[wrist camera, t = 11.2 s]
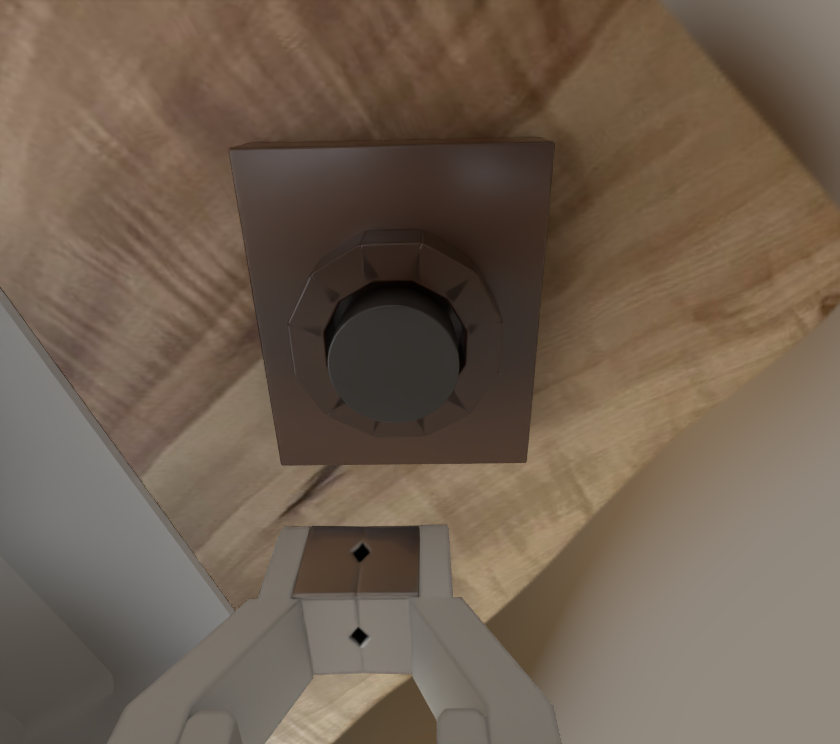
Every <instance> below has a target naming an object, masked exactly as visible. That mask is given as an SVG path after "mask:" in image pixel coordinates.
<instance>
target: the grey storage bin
mask: <svg viewBox="0 0 840 744" xmlns="http://www.w3.org/2000/svg"><path fill="white" fill-rule="evenodd" d="M234 612H235V610H234V609H233V608H232V606H231V605H230V604H229V602H228V601H227V599H226V598H225V597H224V595H223V594H222V593H221V591H220V590H219V588H218V587H217V586H216V584H215V583H214V581H213V580H212V579H211V577H210V576H209V575H208V573H207V572H206V570H205V569H204V568H203V566H202V565H201V564H200V562H199V561H198V559H197V558H196V557H195V555H194V554H193V553H192V551H191V550H190V548H189V547H188V546H187V544H186V543H185V542H184V540H183V539H182V537H181V536H180V535H179V533H178V532H177V531H176V529H175V528H174V526H173V525H172V524H171V522H170V521H169V520H168V518H167V517H166V515H165V514H164V513H163V511H162V510H161V509H160V507H159V506H158V504H157V503H156V502H155V500H154V499H153V498H152V496H151V495H150V493H149V492H148V491H147V489H146V488H145V487H144V485H143V484H142V482H141V481H140V480H139V478H138V477H137V476H136V474H135V473H134V471H133V470H132V469H131V467H130V466H129V465H128V463H127V462H126V460H125V459H124V458H123V456H122V455H121V454H120V452H119V451H118V449H117V448H116V447H115V445H114V444H113V443H112V441H111V440H110V438H109V437H108V436H107V434H106V433H105V431H104V430H103V429H102V427H101V426H100V425H99V423H98V422H97V420H96V419H95V418H94V416H93V415H92V414H91V412H90V411H89V409H88V408H87V407H86V405H85V404H84V403H83V401H82V400H81V398H80V397H79V396H78V394H77V393H76V392H75V390H74V389H73V387H72V386H71V385H70V383H69V382H68V381H67V379H66V378H65V376H64V375H63V374H62V372H61V371H60V370H59V368H58V367H57V365H56V364H55V363H54V361H53V360H52V359H51V357H50V356H49V354H48V353H47V352H46V350H45V349H44V348H43V346H42V345H41V343H40V342H39V341H38V339H37V338H36V337H35V335H34V334H33V332H32V331H31V330H30V328H29V327H28V326H27V324H26V323H25V321H24V320H23V319H22V317H21V316H20V315H19V313H18V312H17V310H16V309H15V308H14V306H13V305H12V304H11V302H10V301H9V299H8V298H7V297H6V295H5V294H4V293H3V291H2V290H1V288H0V744H107V742H108V740H109V738H110V736H111V734H112V732H113V730H114V728H115V726H116V724H117V722H118V720H119V718H120V716H121V714H122V712H123V710H124V708H125V707H126V706H127V705H128V704H129V703H130V702H132V701H133V700H134V699H135V698H136V697H137V696H138V695H140V694H141V693H142V692H143V691H144V690H145V689H146V688H148V687H149V686H150V685H151V684H152V683H153V682H154V681H156V680H157V679H158V678H159V677H160V676H161V675H162V674H164V673H165V672H166V671H167V670H168V669H169V668H171V667H172V666H173V665H174V664H175V663H176V662H177V661H179V660H180V659H181V658H182V657H183V656H184V655H185V654H187V653H188V652H189V651H190V650H191V649H192V648H193V647H195V646H196V645H197V644H198V643H199V642H200V641H201V640H203V639H204V638H205V637H206V636H207V635H208V634H209V633H211V632H212V631H213V630H214V629H215V628H216V627H217V626H219V625H220V624H221V623H222V622H223V621H224V620H226V619H227V618H228V617H229V616H230V615H231V614H232V613H234Z"/></svg>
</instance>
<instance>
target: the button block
mask: <svg viewBox="0 0 840 744" xmlns="http://www.w3.org/2000/svg"><path fill="white" fill-rule="evenodd" d="M554 148H555V143H554V142H553V141H550V140H547V139H544V138H541V137H514V138H463V139H412V140H362V141H311V142H260V143H247V144H243V145H239V146H235V147H231V148H229V157H230V163H231V169H232V175H233V181H234V187H235V193H236V199H237V204H238V210H239V216H240V222H241V228H242V234H243V240H244V246H245V252H246V258H247V264H248V270H249V276H250V282H251V288H252V294H253V300H254V306H255V312H256V318H257V324H258V330H259V335H260V341H261V347H262V353H263V359H264V365H265V371H266V377H267V383H268V389H269V395H270V401H271V407H272V413H273V419H274V425H275V431H276V437H277V443H278V449H279V455H280V461H281V465H283V466H285V465H378V464H472V463H526V461H527V453H528V442H529V431H530V419H531V408H532V397H533V386H534V374H535V363H536V352H537V340H538V329H539V318H540V306H541V295H542V284H543V272H544V261H545V250H546V239H547V227H548V216H549V205H550V193H551V182H552V171H553V159H554ZM393 286H394V287H406V288H411V289H414V290H417V291H420V292H422V293H424V294H426V295H428V296H429V297H431V298H433V299H434V300H435V301H436V302H437V303H439V304H440V305H441V306H442V308H443V309H444V310H445V311H446V313H447V314H448V315H449V317H450V319H451V321H452V323H453V326H454V329H455V333H456V339H457V346H458V354H459V375H458V379H457V382H456V385H455V388H454V389H453V391H452V393H451V395H450V396H449V397H448V399H447V400H446V401H445V402H444V403H443V404H442V405H441V406H440V407H439V408H438V409H436V410H435V411H434V412H432V413H430V414H429V415H427V416H425V417H422V418H420V419H417V420H414V421H409V422H404V423H387V422H380V421H376V420H373V419H370V418H367V417H365V416H363V415H361V414H359V413H357V412H356V411H354V410H353V409H352V408H350V407H349V406H348V405H347V404H346V403H345V402H344V401H343V400H342V399H341V398H340V397H339V395H338V394H337V392H336V391H335V389H334V387H333V385H332V383H331V380H330V377H329V372H328V363H327V359H328V351H329V348H330V344H331V341H332V339H333V336H334V334H335V331H336V328H337V326H338V323H339V321H340V319H341V317H342V315H343V313H344V312H345V310H346V309H347V308H348V307H349V305H350V304H351V303H353V302H354V301H355V300H356V299H357V298H359V297H360V296H362V295H363V294H365V293H367V292H369V291H372V290H375V289H379V288H383V287H393Z"/></svg>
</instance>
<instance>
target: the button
mask: <svg viewBox="0 0 840 744" xmlns="http://www.w3.org/2000/svg"><path fill="white" fill-rule="evenodd" d="M327 363H328V372H329V377H330V380H331V383H332V385H333V387H334V389H335V391H336V392H337V394H338V395H339V397H340V398H341V399H342V400H343V401H344V402H345V403H346V404H347V405H348V406H349V407H350V408H352V409H353V410H354V411H356V412H357V413H359V414H361V415H363V416H365V417H367V418H370V419H373V420H376V421H380V422H387V423H404V422H409V421H414V420H417V419H420V418H422V417H425V416H427V415H429V414H430V413H432V412H434V411H435V410H436V409H438V408H439V407H440V406H441V405H442V404H443V403H444V402H445V401H446V400H447V399H448V397H449V396H450V395H451V393H452V391H453V389H454V388H455V385H456V382H457V379H458V375H459V354H458V346H457V339H456V333H455V329H454V326H453V323H452V321H451V319H450V317H449V315H448V314H447V313H446V311H445V310H444V309H443V308H442V306H441V305H440V304H439V303H437V302H436V301H435V300H434V299H433V298H431V297H429V296H428V295H426V294H424V293H422V292H420V291H417V290H414V289H411V288H406V287H394V286H393V287H383V288H379V289H375V290H372V291H369V292H367V293H365V294H363V295H362V296H360V297H359V298H357V299H356V300H355V301H354V302H353V303H351V304H350V305H349V307H348V308H347V309H346V310H345V312H344V313H343V315H342V317H341V319H340V321H339V323H338V326H337V328H336V331H335V334H334V336H333V339H332V341H331V344H330V348H329V351H328V359H327Z"/></svg>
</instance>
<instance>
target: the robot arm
mask: <svg viewBox="0 0 840 744" xmlns="http://www.w3.org/2000/svg"><path fill="white" fill-rule="evenodd" d="M351 673H382V674H412V676H413V678H414V680H415V682H416V684H417V686H418V687H419V689H420V691H421V693H422V695H423V697H424V698H425V700H426V702H427V704H428V705H429V707H430V709H431V711H432V713H433V714H434V716H435V718H436V720H437V744H562V743H561V738H560V734H559V729H558V725H557V720H556V715H555V712H554V707H553V705H552V704H551V702H550V701H549V700H548V699H547V698H546V696H545V695H544V694H543V693H542V692H541V691H540V689H539V688H538V687H537V686H536V685H535V683H534V682H533V681H532V680H531V679H530V678H529V676H528V675H527V674H526V673H525V672H524V670H523V669H521V667H520V666H519V665H518V664H517V662H516V661H515V660H514V659H513V657H511V655H510V654H509V653H508V652H507V650H506V649H505V648H504V647H503V646H502V645H501V643H500V642H499V641H498V640H497V639H496V637H495V636H494V635H493V634H492V633H491V631H490V630H489V629H488V628H487V627H486V626H485V624H484V623H483V622H482V621H481V620H480V618H479V617H478V616H477V615H476V614H475V613H474V611H473V610H472V609H471V608H470V607H469V605H468V604H467V603H466V602H465V601H464V600H463V598H462V597H453V589H452V573H451V557H450V541H449V528H448V526H447V524H442V525H420V528H419V526H366V527H353V526H312V527H305V526H285V527H284V528H283V529H282V530H281V532H280V533H279V536H278V539H277V542H276V545H275V548H274V551H273V554H272V557H271V560H270V563H269V566H268V569H267V572H266V575H265V578H264V581H263V584H262V587H261V590H260V593H259V596H258V599H248V600H247V601H246V602H245V603H244V604H243V605H242V606H240V607H239V608H238V609H237V610H236V611H235V612H234V613H232V614H231V615H230V616H229V617H228V618H227V619H226V620H224V621H223V622H222V623H221V624H220V625H219V626H217V627H216V628H215V629H214V630H213V631H212V632H211V633H209V634H208V635H207V636H206V637H205V638H204V639H203V640H201V641H200V642H199V643H198V644H197V645H196V646H195V647H193V648H192V649H191V650H190V651H189V652H188V653H187V654H185V655H184V656H183V657H182V658H181V659H180V660H179V661H177V662H176V663H175V664H174V665H173V666H172V667H171V668H169V669H168V670H167V671H166V672H165V673H164V674H162V675H161V676H160V677H159V678H158V679H157V680H156V681H154V682H153V683H152V684H151V685H150V686H149V687H148V688H146V689H145V690H144V691H143V692H142V693H141V694H140V695H138V696H137V697H136V698H135V699H134V700H133V701H132V702H130V703H129V704H128V705H127V706H126V707H125V708H124V710H123V712H122V714H121V716H120V718H119V720H118V722H117V724H116V726H115V728H114V730H113V732H112V734H111V736H110V738H109V740H108V742H107V744H265V742H266V741H267V740H268V738H269V737H270V736H271V734H272V733H273V732H274V730H275V729H276V728H277V726H278V725H279V723H280V722H281V721H282V719H283V718H284V717H285V715H286V714H287V713H288V711H289V710H290V709H291V707H292V706H293V705H294V703H295V702H296V701H297V699H298V698H299V696H300V695H301V694H302V692H303V691H304V690H305V688H306V687H307V686H308V684H309V683H310V682H311V680H312V679H313V675H324V674H351Z"/></svg>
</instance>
